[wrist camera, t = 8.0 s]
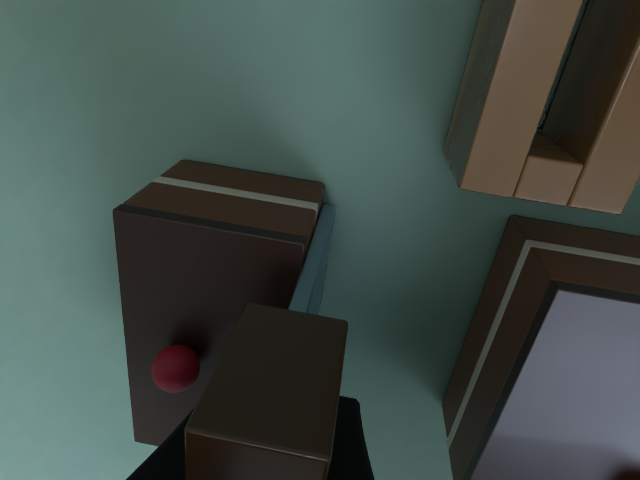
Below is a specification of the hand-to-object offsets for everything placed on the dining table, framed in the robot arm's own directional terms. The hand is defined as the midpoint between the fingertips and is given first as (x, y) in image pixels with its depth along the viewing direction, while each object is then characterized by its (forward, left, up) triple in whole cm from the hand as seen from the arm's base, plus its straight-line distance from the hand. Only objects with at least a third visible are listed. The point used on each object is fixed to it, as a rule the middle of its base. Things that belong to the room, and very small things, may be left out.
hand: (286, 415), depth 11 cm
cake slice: (+2, +1, -5) cm, 6 cm away
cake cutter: (0, 0, -5) cm, 5 cm away
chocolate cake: (-7, -4, -5) cm, 10 cm away
